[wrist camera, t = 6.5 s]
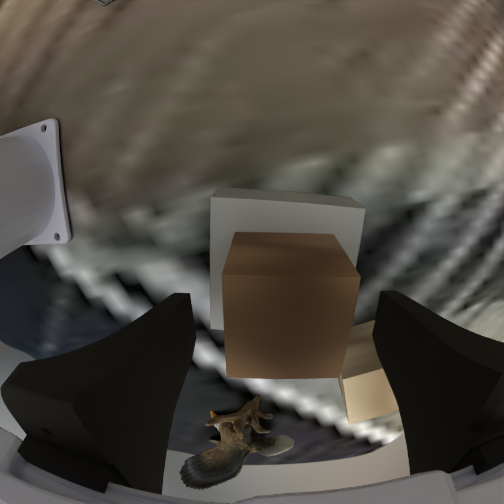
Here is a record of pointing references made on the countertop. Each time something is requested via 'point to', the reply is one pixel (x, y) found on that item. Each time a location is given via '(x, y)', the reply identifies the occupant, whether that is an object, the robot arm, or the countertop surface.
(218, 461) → the eagle figurine
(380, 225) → the countertop surface
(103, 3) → the medicine box
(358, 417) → the birch cube
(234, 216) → the slate block
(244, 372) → the walnut cube
